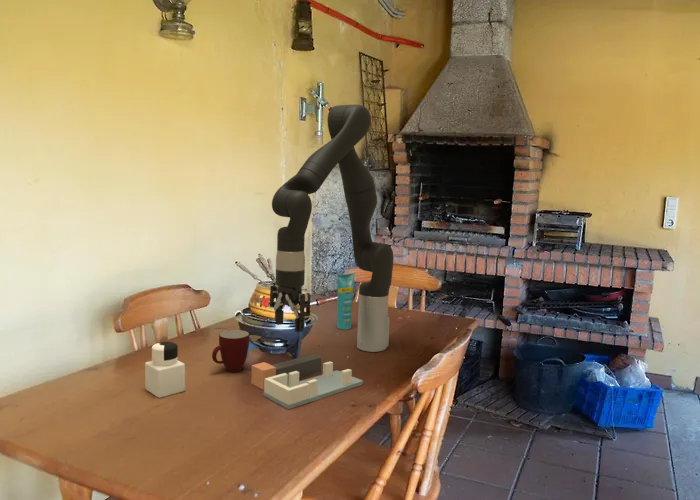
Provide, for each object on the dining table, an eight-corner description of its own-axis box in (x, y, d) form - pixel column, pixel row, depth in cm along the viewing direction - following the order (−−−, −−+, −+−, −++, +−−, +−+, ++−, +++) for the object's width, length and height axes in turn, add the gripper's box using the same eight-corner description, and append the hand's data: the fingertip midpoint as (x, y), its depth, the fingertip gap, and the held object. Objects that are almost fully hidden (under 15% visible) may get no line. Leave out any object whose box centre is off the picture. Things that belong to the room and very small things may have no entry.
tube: (341, 331, 202) (342, 276, 199) (331, 328, 205) (333, 273, 202) (356, 327, 207) (358, 273, 204) (346, 324, 211) (348, 271, 208)
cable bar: (310, 367, 167) (311, 350, 166) (322, 372, 163) (323, 354, 163) (251, 383, 153) (251, 365, 152) (262, 389, 150) (263, 370, 149)
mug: (224, 379, 155) (224, 342, 154) (205, 371, 161) (205, 335, 159) (254, 369, 163) (255, 334, 162) (236, 362, 169) (236, 328, 167)
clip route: (337, 373, 162) (337, 357, 162) (362, 384, 155) (363, 368, 155) (263, 395, 146) (263, 378, 145) (288, 409, 138) (289, 390, 138)
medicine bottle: (171, 382, 152) (171, 337, 150) (185, 391, 147) (185, 344, 145) (145, 389, 147) (144, 343, 145) (158, 398, 142) (157, 350, 140)
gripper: (319, 270, 151) (317, 331, 154) (285, 261, 161) (283, 319, 164) (296, 273, 146) (294, 336, 148) (262, 264, 156) (261, 324, 159)
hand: (288, 327), depth 156 cm, fingers open, 8 cm apart
